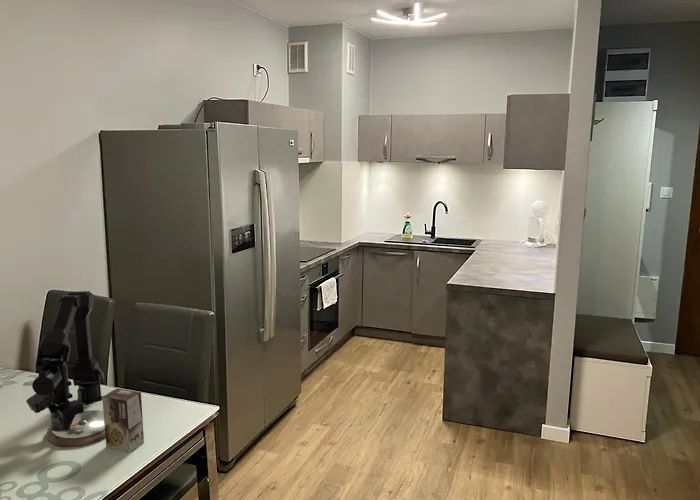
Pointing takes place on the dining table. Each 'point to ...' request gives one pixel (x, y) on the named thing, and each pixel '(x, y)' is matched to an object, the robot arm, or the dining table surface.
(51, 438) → the dial base
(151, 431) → the dining table surface
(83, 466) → the dining table surface
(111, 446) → the coffee box
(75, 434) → the dial
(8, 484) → the dining table surface
